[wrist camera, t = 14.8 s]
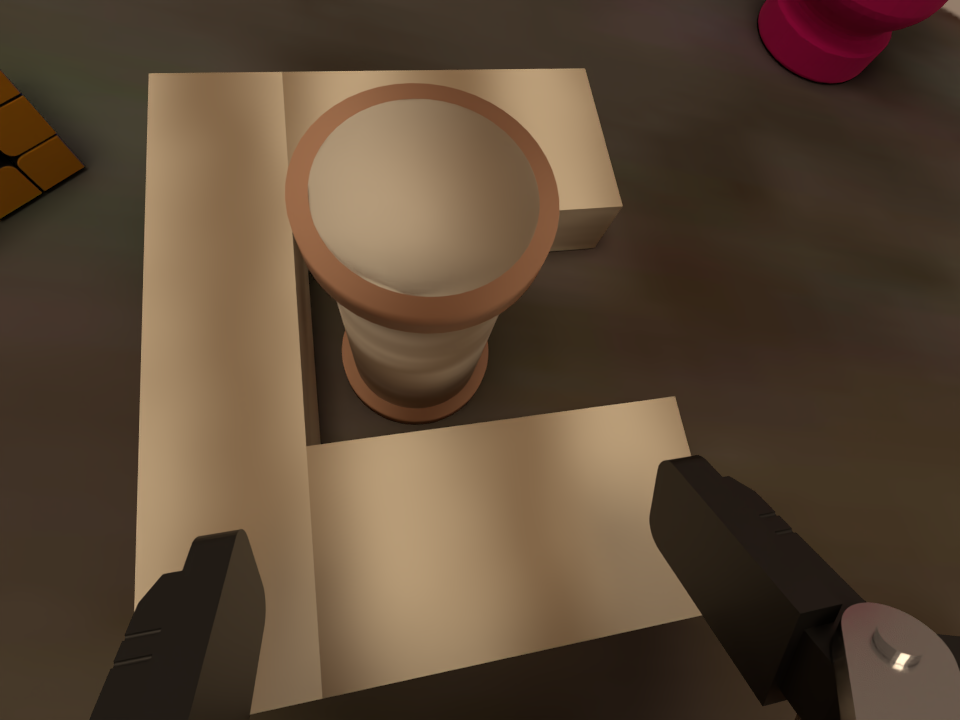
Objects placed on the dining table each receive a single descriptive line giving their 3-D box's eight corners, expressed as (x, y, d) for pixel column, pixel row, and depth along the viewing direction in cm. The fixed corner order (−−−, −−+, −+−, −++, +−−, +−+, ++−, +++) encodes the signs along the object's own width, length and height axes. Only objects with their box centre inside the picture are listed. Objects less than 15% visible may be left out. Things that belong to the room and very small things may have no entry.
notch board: (181, 700, 15) (130, 741, 12) (183, 135, 21) (148, 73, 18) (681, 595, 18) (732, 608, 15) (563, 123, 24) (584, 68, 21)
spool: (350, 433, 18) (293, 332, 9) (338, 297, 20) (278, 84, 10) (495, 414, 19) (584, 303, 10) (473, 286, 21) (532, 80, 11)
